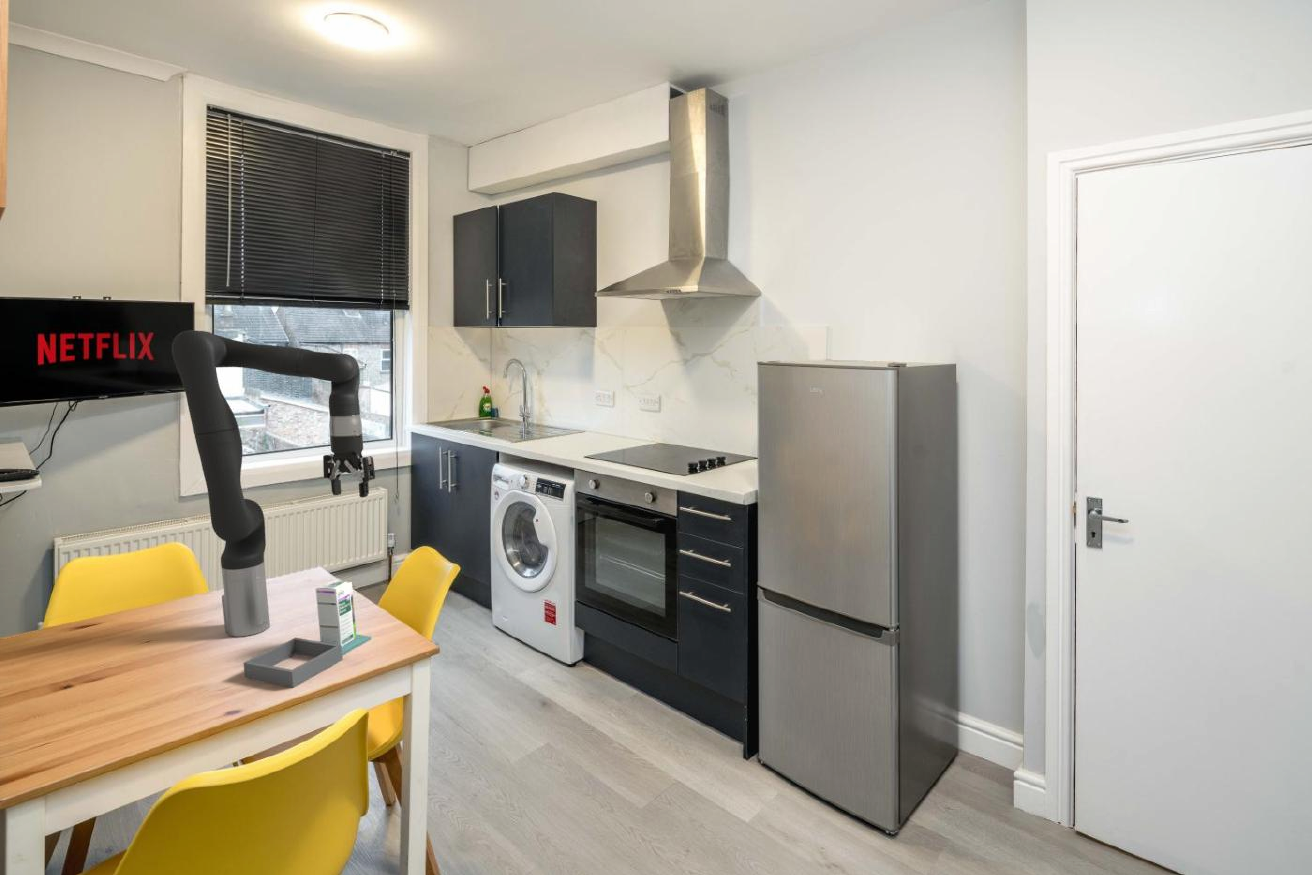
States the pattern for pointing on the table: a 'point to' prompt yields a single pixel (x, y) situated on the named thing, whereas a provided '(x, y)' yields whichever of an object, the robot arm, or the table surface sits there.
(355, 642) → the mat
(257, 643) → the table surface
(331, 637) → the syrup box
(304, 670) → the bin
